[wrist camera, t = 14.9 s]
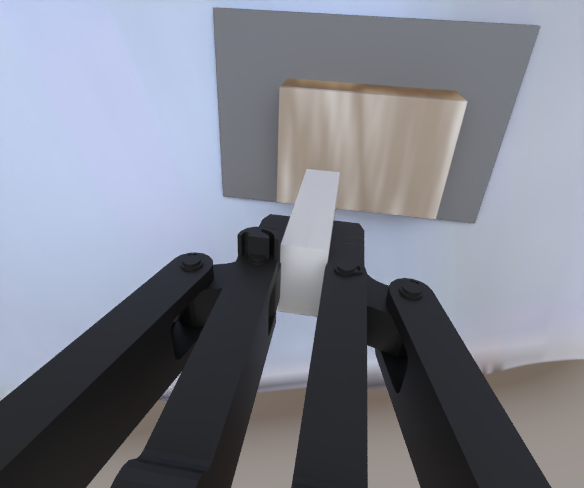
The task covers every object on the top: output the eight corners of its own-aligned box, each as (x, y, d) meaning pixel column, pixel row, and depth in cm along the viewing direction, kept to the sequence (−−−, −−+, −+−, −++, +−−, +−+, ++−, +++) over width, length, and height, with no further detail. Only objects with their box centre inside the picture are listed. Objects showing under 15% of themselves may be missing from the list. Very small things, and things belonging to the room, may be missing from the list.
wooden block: (276, 202, 25) (435, 219, 24) (279, 87, 22) (467, 101, 21) (284, 183, 28) (428, 198, 27) (288, 78, 24) (455, 90, 23)
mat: (225, 193, 30) (223, 196, 29) (216, 7, 23) (212, 7, 23) (472, 219, 28) (474, 223, 27) (536, 25, 21) (540, 25, 21)
